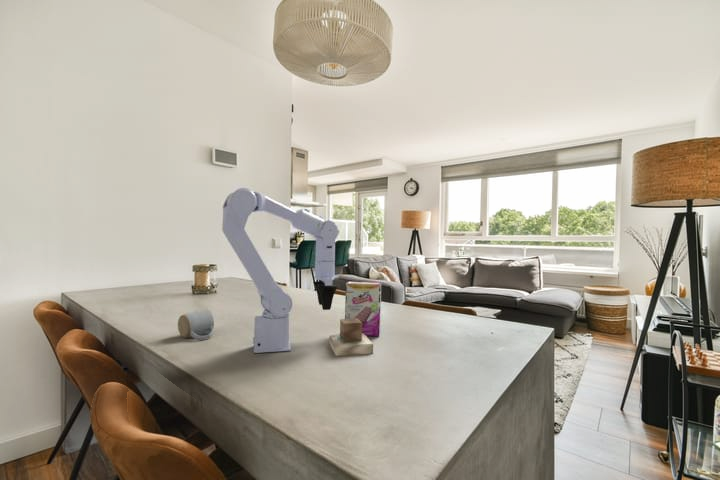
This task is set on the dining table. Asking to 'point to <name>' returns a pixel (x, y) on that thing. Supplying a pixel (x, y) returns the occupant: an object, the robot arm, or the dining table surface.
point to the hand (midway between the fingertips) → (324, 307)
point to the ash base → (350, 346)
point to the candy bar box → (364, 305)
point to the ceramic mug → (196, 324)
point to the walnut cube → (350, 330)
